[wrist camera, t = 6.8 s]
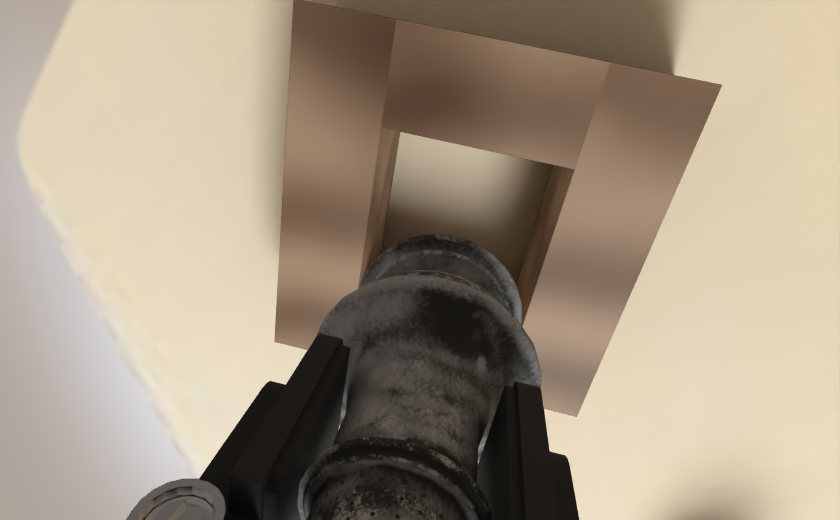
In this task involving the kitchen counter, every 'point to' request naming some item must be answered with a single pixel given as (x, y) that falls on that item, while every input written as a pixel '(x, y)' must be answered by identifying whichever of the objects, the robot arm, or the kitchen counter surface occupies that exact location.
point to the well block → (489, 130)
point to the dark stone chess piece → (419, 384)
